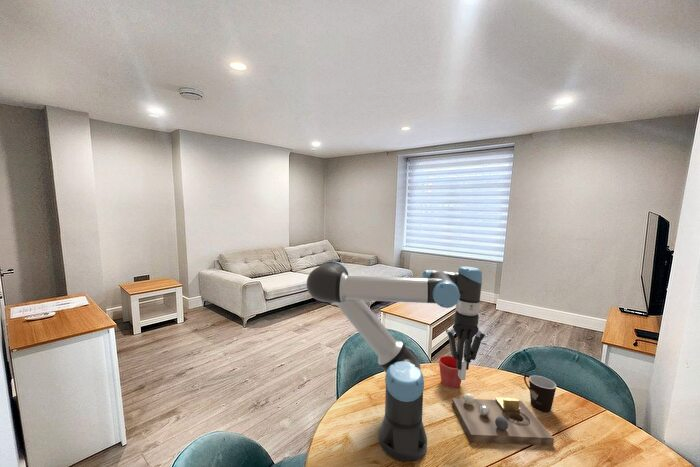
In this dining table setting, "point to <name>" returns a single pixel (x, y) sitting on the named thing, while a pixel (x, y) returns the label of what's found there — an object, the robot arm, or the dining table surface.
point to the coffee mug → (541, 392)
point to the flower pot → (449, 372)
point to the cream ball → (469, 399)
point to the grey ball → (501, 423)
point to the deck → (488, 432)
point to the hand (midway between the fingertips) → (461, 377)
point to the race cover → (508, 404)
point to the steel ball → (484, 411)
